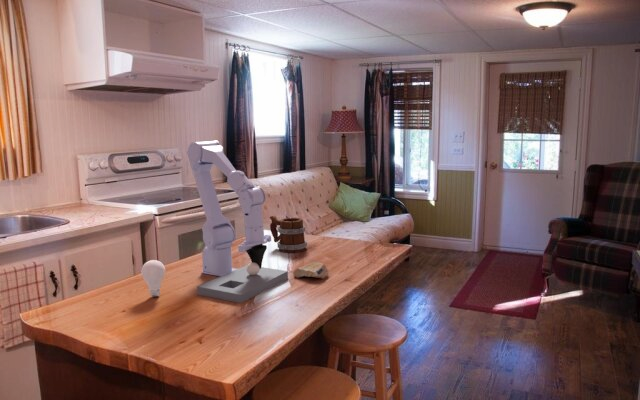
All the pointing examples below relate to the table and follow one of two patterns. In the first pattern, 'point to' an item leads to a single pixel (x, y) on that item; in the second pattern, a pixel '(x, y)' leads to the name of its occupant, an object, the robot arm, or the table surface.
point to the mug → (289, 234)
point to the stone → (312, 270)
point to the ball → (253, 268)
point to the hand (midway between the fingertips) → (257, 268)
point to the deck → (242, 284)
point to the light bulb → (153, 276)
